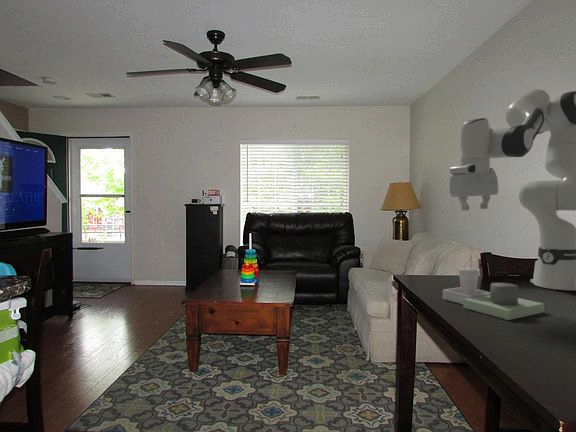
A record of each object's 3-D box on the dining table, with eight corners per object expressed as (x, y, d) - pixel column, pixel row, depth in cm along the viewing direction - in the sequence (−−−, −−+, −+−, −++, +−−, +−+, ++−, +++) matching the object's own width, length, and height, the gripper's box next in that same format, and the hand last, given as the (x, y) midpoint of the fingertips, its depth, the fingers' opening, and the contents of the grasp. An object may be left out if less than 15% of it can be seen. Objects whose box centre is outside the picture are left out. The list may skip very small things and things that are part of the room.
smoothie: (482, 302, 123) (483, 257, 123) (460, 301, 124) (461, 256, 124) (475, 297, 130) (476, 254, 129) (455, 296, 131) (455, 253, 130)
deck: (470, 294, 135) (470, 272, 135) (543, 312, 114) (544, 286, 114) (436, 299, 128) (436, 276, 128) (508, 320, 107) (508, 292, 106)
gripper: (486, 168, 141) (486, 207, 142) (446, 168, 131) (446, 210, 132) (503, 167, 136) (503, 208, 137) (462, 167, 126) (462, 211, 127)
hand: (474, 209), depth 134 cm, fingers open, 8 cm apart
